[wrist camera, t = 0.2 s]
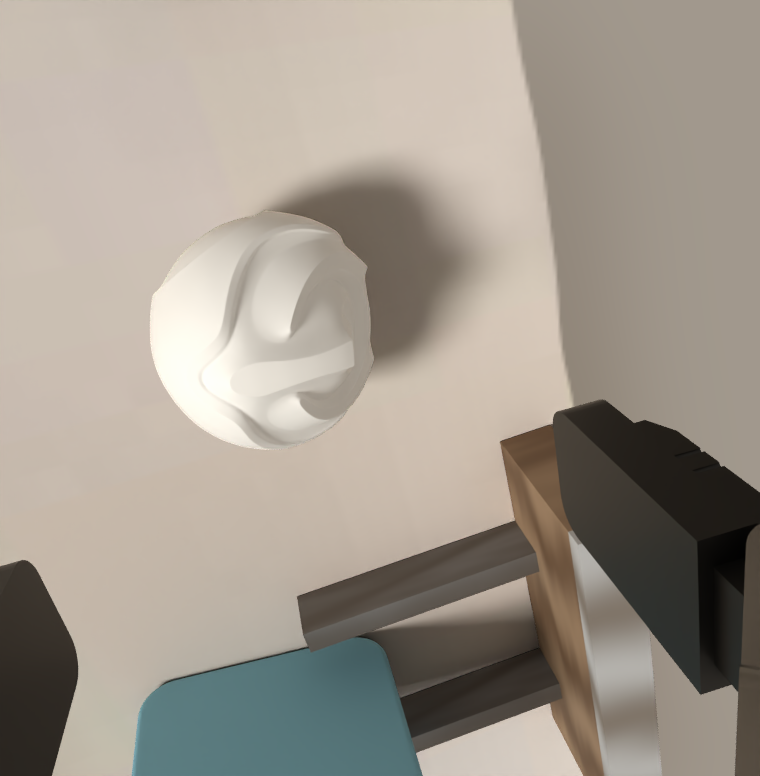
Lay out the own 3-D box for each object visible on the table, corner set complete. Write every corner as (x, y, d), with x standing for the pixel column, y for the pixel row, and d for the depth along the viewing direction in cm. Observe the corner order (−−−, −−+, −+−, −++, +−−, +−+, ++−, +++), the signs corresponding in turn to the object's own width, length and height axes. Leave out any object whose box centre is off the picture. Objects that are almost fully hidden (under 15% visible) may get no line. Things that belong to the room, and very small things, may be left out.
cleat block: (266, 520, 32) (281, 649, 25) (550, 424, 33) (640, 522, 26) (372, 784, 41) (406, 931, 34) (591, 702, 42) (666, 828, 35)
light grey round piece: (363, 375, 30) (409, 471, 23) (180, 403, 28) (170, 513, 22) (347, 181, 26) (395, 226, 19) (137, 204, 25) (110, 259, 18)
